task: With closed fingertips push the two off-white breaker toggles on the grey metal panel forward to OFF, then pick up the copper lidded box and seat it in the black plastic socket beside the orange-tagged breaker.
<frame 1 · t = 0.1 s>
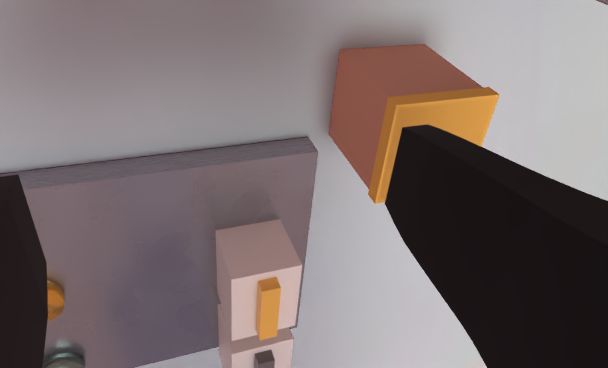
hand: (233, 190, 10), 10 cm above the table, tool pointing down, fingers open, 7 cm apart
panel: (158, 261, 24), on the table
breaker 1: (255, 350, 25), point 3 cm above the table, slide at 0.0 cm, touching panel
copper lidded box: (375, 90, 22), on the table
breaker 2: (258, 283, 22), point 3 cm above the table, slide at 0.0 cm, touching panel
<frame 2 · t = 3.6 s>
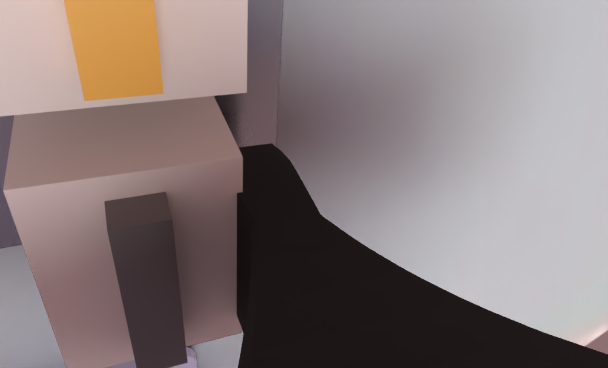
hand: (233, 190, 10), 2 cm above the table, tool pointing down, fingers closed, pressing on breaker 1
breaker 1: (139, 226, 9), point 3 cm above the table, slide at 0.0 cm, touching gripper, panel
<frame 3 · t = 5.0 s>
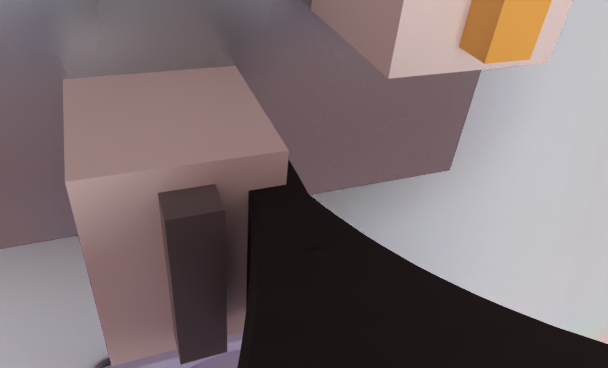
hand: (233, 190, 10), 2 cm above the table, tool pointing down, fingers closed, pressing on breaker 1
breaker 1: (179, 219, 9), point 3 cm above the table, slide at 4.5 cm, touching gripper, panel
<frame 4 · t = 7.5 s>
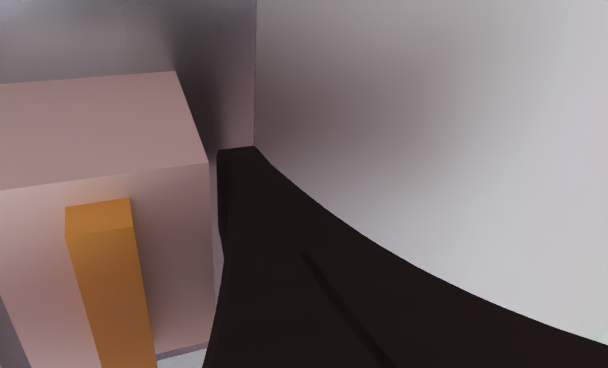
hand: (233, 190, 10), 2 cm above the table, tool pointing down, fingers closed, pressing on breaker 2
breaker 2: (110, 231, 9), point 3 cm above the table, slide at 0.0 cm, touching gripper, panel
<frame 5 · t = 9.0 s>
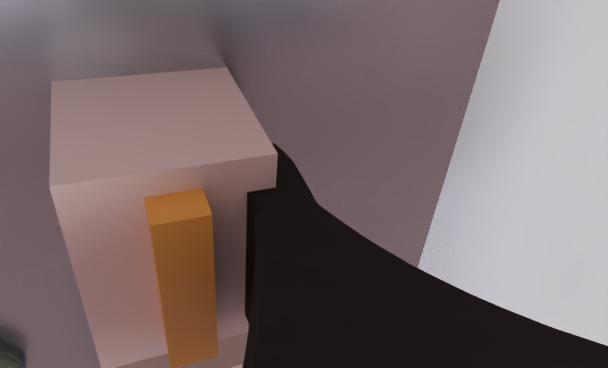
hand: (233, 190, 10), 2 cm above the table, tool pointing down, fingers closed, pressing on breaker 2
panel: (171, 151, 11), on the table
breaker 2: (169, 223, 9), point 3 cm above the table, slide at 4.5 cm, touching gripper, panel
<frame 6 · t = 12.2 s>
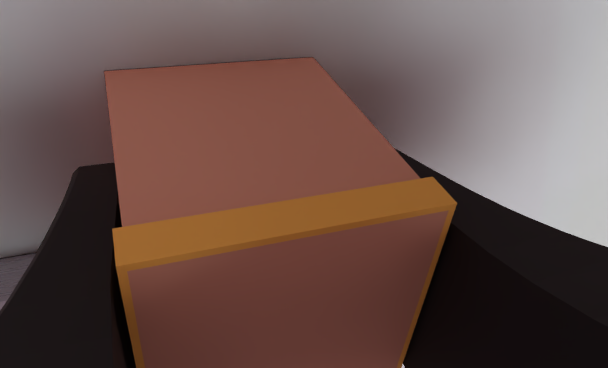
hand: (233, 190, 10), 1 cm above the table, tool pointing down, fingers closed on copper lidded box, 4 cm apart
copper lidded box: (217, 151, 11), on the table, touching gripper
when the fingers open (3 cm above the table, at t = 16.4 s): copper lidded box drops 1 cm, resting in socket.
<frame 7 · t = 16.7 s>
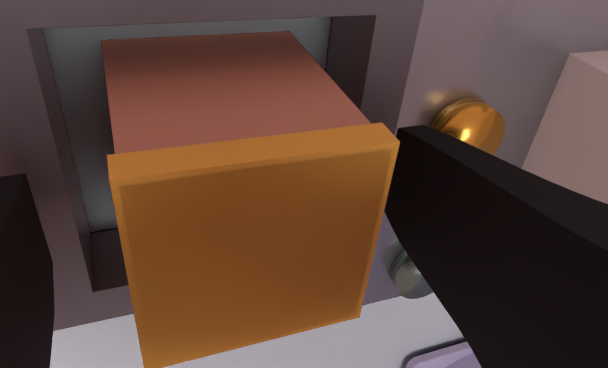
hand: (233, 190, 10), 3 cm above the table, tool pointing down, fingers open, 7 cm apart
panel: (563, 108, 16), on the table
copper lidded box: (203, 116, 12), resting in socket
socket: (204, 117, 12), on the table
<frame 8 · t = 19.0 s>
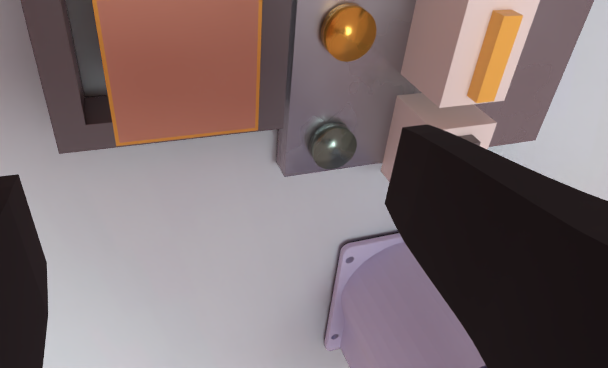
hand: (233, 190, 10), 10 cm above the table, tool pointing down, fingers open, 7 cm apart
panel: (438, 26, 22), on the table
breaker 1: (437, 152, 22), point 3 cm above the table, slide at 4.6 cm, touching panel
copper lidded box: (162, 11, 17), resting in socket
breaker 2: (468, 42, 19), point 3 cm above the table, slide at 4.7 cm, touching panel
socket: (162, 11, 17), on the table
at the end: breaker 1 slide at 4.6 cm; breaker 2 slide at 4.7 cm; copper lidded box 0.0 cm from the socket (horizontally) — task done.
